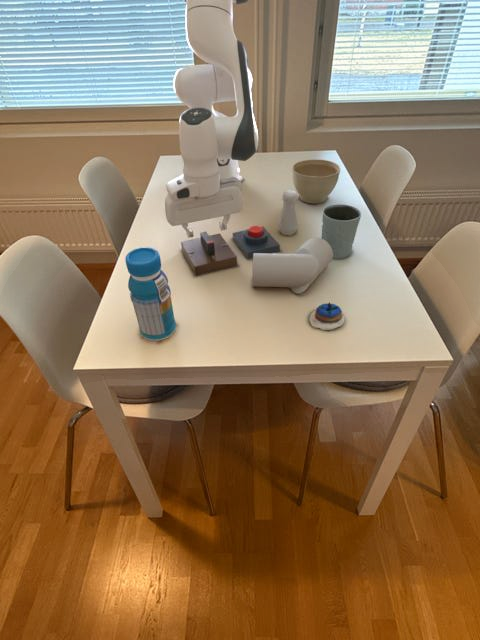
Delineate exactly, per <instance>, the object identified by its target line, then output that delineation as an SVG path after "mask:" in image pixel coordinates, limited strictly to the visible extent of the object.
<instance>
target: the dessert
mask: <svg viewBox="0 0 480 640" xmlns="http://www.w3.org/2000/svg"><path fill="white" fill-rule="evenodd" d="M308 320H309V323H310V325H311V327H312V328H317V329H320V330H322V331H330V330H335V329H336V328H339V327H341V326H343V324H344V322H345V317H344V316H343V311H342V308H340V306H339V305H337V304H334V303H331V302H330V301H329V302H328V303H321V304H320V305H319V306H317V308H316V309H315V310H313V312H311V313H310V315H309V318H308Z"/></svg>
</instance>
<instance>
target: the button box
mask: <svg viewBox="0 0 480 640" xmlns="http://www.w3.org/2000/svg"><path fill="white" fill-rule="evenodd" d="M261 227H262V228H263V235H262V236H261V237H251V236H249V228H247V229H244V230H240V231H239V230H238V231H235V232H232V240H233V241H234V243H235V244H236V245H237V247H238V248H239V250H240V251H241V252H242V253H243V254H244V256H245V257H246V259H247V260H250V259H253V254H254V253H273V254H276V253H279V252H280V251H281V244H280V243H279V242H278V241H277V240H276V239H275V238H274V237H273V236H272V234H271V233H270V232H269V231H268V230H267V229H266V227H264V226H261Z"/></svg>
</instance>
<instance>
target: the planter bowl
mask: <svg viewBox="0 0 480 640" xmlns="http://www.w3.org/2000/svg"><path fill="white" fill-rule="evenodd" d="M341 169H342V168H341V166H340V165H339V164H338V163H336V162H334V161H331V160H327V159H317V158H315V159H313V158H312V159H303V160H300V161H297V162H295V163H294V164H293V165H292V167H291V172H292V182H293V186H294V189H295V191H296V193H297V195H299V199H300V200H301V201H302V202H305V203H308V204H321V203H324V202H326V201H327V200H328V197H329V196H330V195H331V193H332V192H333V191H334V190H335V188H336V186H337V183H338V181H339V177H340V173H341Z"/></svg>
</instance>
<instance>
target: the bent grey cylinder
mask: <svg viewBox="0 0 480 640" xmlns="http://www.w3.org/2000/svg"><path fill="white" fill-rule="evenodd" d="M333 259H334V258H333V251H332V248H331V246H330V245H329V243H328V242H326V241H325V240H323V239H321V237H316V236H315V237H311V238H309V239H308V240H306V241H305V242H304V243H303V244H302V245H301V246H300V247H299V248H297V250H296V251H295V252H294V253H254V254H253V258H252V287H265V288H289V289H290V290H291V291H292V293H295V294H302V293H303V292H305V291H306V290H307V289H308V287H310V286H311V284H312V283H313V282H314V281H315V280H316V279H317V278H318V276H319V275H320V274H321V273H322V272H323V271H324V270H325V269H326V268H327V266H329V264H330V263H331V262H332V260H333Z"/></svg>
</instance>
